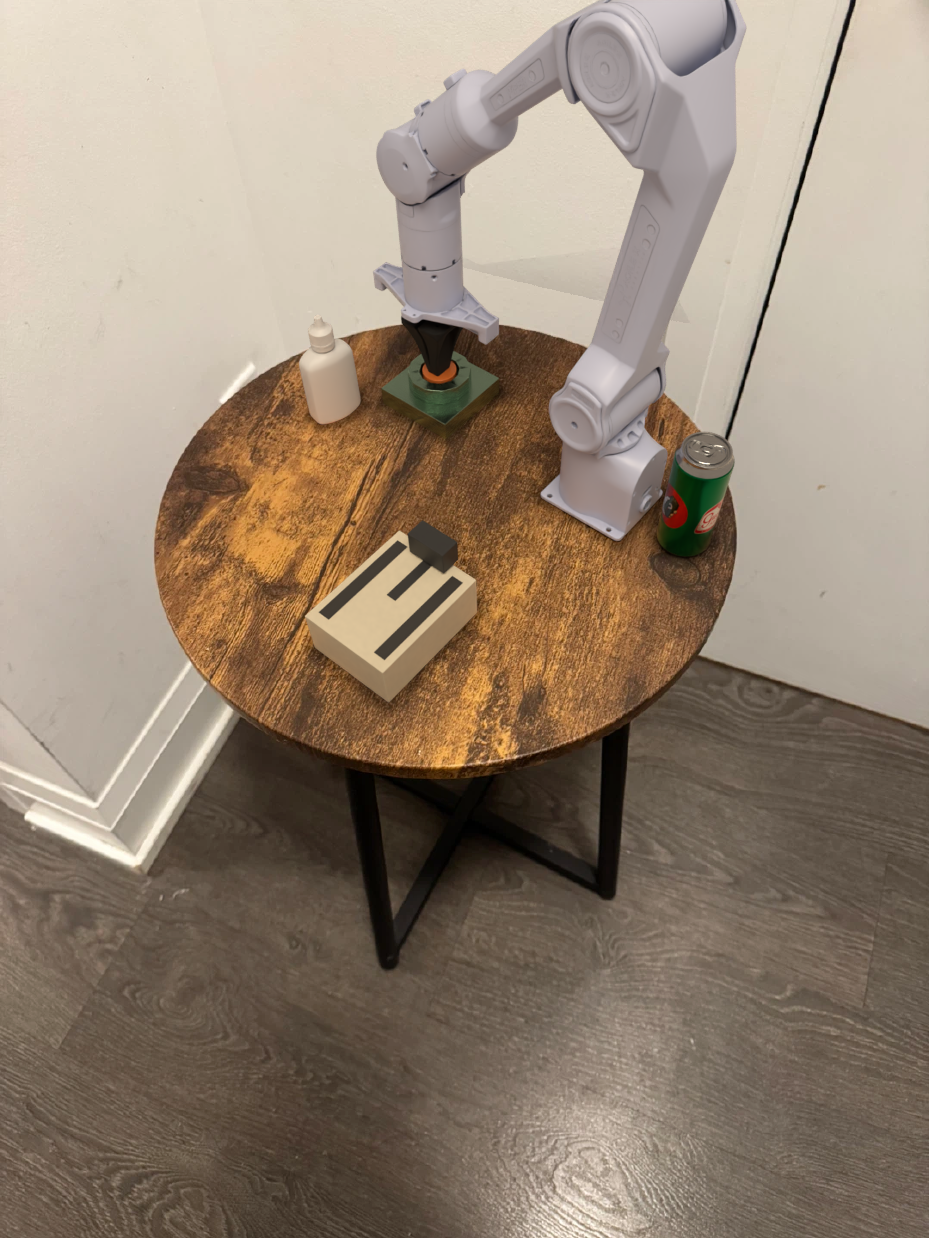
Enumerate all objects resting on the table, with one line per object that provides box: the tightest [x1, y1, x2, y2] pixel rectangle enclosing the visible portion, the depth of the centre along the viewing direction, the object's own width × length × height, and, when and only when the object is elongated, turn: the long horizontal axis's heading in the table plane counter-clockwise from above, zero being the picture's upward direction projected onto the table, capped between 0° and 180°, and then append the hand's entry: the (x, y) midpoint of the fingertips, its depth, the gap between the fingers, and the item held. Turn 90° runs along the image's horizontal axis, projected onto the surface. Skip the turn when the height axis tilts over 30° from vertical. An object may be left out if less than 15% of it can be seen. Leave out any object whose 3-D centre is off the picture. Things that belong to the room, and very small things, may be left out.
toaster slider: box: [407, 519, 459, 573], centre depth 77 cm, size 4×2×2 cm, turn 50°
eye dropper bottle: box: [298, 314, 362, 425], centre depth 92 cm, size 4×6×12 cm
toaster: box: [304, 530, 478, 703], centre depth 78 cm, size 9×13×5 cm
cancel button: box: [422, 361, 457, 384], centre depth 94 cm, size 4×4×2 cm
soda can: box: [656, 431, 736, 558], centre depth 80 cm, size 5×5×12 cm
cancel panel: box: [380, 350, 500, 440], centre depth 95 cm, size 9×9×4 cm
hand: (439, 369), depth 94 cm, fingers closed, pressing on cancel button
